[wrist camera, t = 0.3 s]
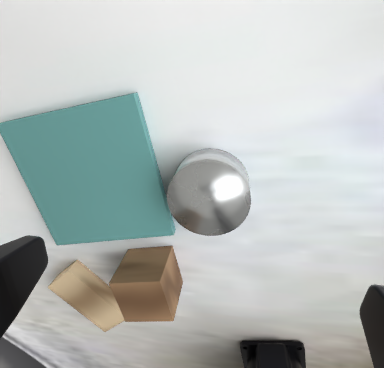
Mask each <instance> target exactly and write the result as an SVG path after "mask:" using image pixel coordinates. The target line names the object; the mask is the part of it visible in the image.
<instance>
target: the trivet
mask: <svg viewBox="0 0 384 368" xmlns="http://www.w3.org/2000/svg"><path fill="white" fill-rule="evenodd" d="M0 133H1V135H2V137H3V139H4V141H5V143H6V145H7V147H8V149H9V151H10V153H11V155H12V157H13V159H14V161H15V163H16V165H17V167H18V169H19V171H20V173H21V175H22V177H23V179H24V181H25V183H26V185H27V187H28V189H29V191H30V193H31V195H32V197H33V199H34V201H35V203H36V205H37V207H38V209H39V211H40V213H41V215H42V217H43V219H44V221H45V223H46V225H47V227H48V229H49V231H50V233H51V235H52V237H53V239H54V241H55V243H56V245H66V244H77V243H89V242H100V241H112V240H123V239H135V238H146V237H158V236H169V235H174V233H175V226H174V222H173V219H172V215H171V212H170V210H169V207H168V203H167V197H166V194H165V190H164V187H163V183H162V179H161V176H160V172H159V169H158V165H157V161H156V158H155V154H154V151H153V147H152V143H151V140H150V136H149V133H148V129H147V125H146V122H145V118H144V115H143V111H142V107H141V104H140V100H139V97H138V93H132V94H128V95H123V96H119V97H114V98H110V99H105V100H101V101H96V102H92V103H87V104H83V105H78V106H74V107H69V108H65V109H60V110H56V111H51V112H47V113H42V114H38V115H33V116H29V117H24V118H20V119H15V120H11V121H6V122H2V123H0Z"/></svg>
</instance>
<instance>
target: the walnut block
mask: <svg viewBox="0 0 384 368" xmlns="http://www.w3.org/2000/svg"><path fill="white" fill-rule="evenodd" d="M182 284H183V281H182V277H181V274H180V270H179V267H178V263H177V260H176V257H175V253H174V250H173V246H163V247H150V248H137V249H128V251H127V253H126V254H125V256H124V258H123V260H122V261H121V263H120V265H119V267H118V268H117V270H116V272H115V274H114V275H113V277H112V279H111V281H110V282H109V286H110V288H111V290H112V292H113V295H114V297H115V299H116V301H117V304H118V306H119V308H120V311H121V313H122V315H123V317H124V320H125V322H138V321H174V317H175V313H176V308H177V304H178V300H179V296H180V292H181V288H182Z"/></svg>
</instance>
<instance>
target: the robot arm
mask: <svg viewBox="0 0 384 368" xmlns="http://www.w3.org/2000/svg"><path fill="white" fill-rule="evenodd" d="M47 264H48V256H47V252H46V247H45V243H44V240H43V239H42V238H41V237H37V236H24V237H22V238H19V239H16V240H14V241H11V242H8V243H6V244H3V245H1V246H0V338H1V337H2V336H3V334H4V333H5V332H6V330H7V329H8V328H9V326H10V325H11V323H12V322H13V321H14V319H15V318H16V316H17V315H18V313H19V312H20V310H21V308H22V307H23V305H24V304H25V302H26V300H27V299H28V297H29V295H30V294H31V292H32V290H33V289H34V287H35V285H36V284H37V282H38V280H39V279H40V277H41V275H42V274H43V272H44V270H45V269H46V267H47ZM360 318H361V322H362V325H363V329H364V333H365V336H366V340H367V343H368V347H369V351H370V354H371V358H372V362H373V365H374V368H384V286H381V285H371V286H370V287H369V288H368V290H367V293H366V295H365V297H364V300H363V302H362V304H361V307H360ZM240 348H241V353H242V358H243V363H244V368H306V363H305V348H304V344H303V343H302V342H280V341H243V342H241V343H240Z"/></svg>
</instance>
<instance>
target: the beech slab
mask: <svg viewBox="0 0 384 368" xmlns="http://www.w3.org/2000/svg"><path fill="white" fill-rule="evenodd" d="M48 288H49V289H50V290H52V291H53V292H54V293H55V294H57V295H58V296H59V297H61V298H62V299H63V300H64V301H66V302H67V303H68V304H70V305H71V306H72V307H73V308H75V309H76V310H77V311H79V312H80V313H81V314H82V315H84V316H85V317H86V318H87V319H89V320H90V321H91V322H93V323H94V324H95V325H96V326H98V327H99V328H100V329H102V330H103V331H104V332H106V331H108V330H109V329H111V328H113V327H114V326H116V325H118V324H120V323H121V322H123V321H125V320H124V317H123V315H122V313H121V311H120V308H119V306H118V304H117V301H116V299H115V297H114V295H113V292H112V290H111V288H110V287H109V286H108V285H107V284H106V283H105V282H104V281H102V280H101V279H100V278H99V277H98V276H96V275H95V274H94V273H93V272H92V271H90V270H89V269H88V268H87V267H86V266H84V265H83V264H82V263H81V262H80V261H79V260H76V261H75V262H74V263H72V264H71V265H70V266H69V267H68V268H66V269H65V270H64V271H63V272H61V273H60V274H59V275H58V276H57V277H56V278H55V279H54V280H53V282H52V283H51V284H50V285H49V286H48Z"/></svg>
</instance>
